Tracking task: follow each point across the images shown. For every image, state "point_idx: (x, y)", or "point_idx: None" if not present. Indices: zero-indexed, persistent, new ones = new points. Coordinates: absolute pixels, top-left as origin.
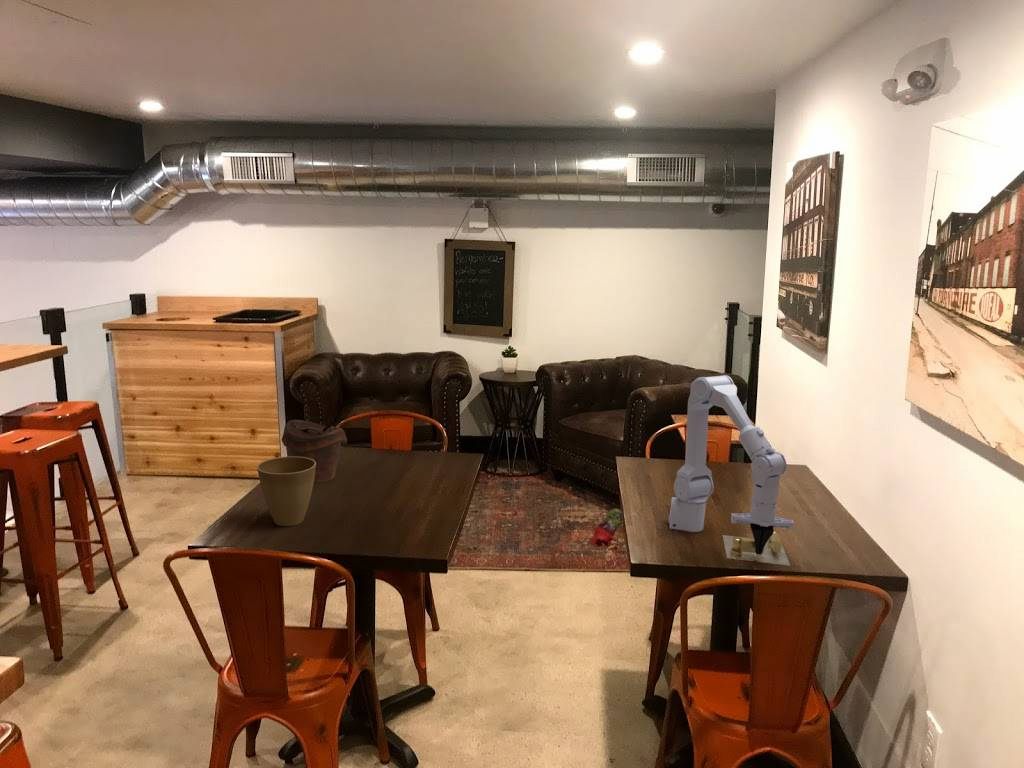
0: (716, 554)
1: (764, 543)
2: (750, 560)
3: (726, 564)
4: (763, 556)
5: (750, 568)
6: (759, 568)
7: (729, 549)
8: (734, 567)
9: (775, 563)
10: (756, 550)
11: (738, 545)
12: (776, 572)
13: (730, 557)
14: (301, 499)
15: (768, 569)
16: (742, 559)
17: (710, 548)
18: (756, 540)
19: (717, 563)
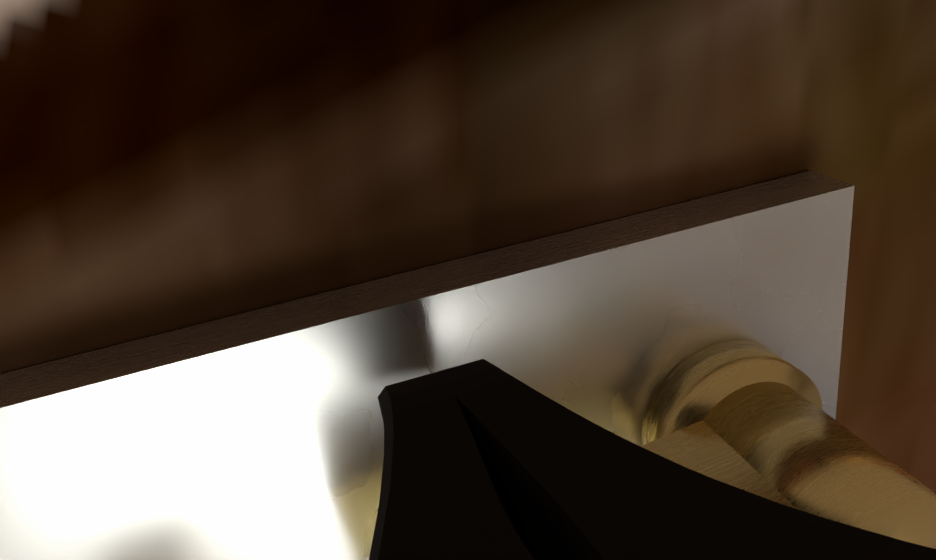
0: (893, 331)
1: (414, 550)
2: (522, 277)
3: (821, 67)
4: (331, 541)
5: (487, 94)
6: (344, 171)
7: None
8: (724, 6)
9: (84, 393)
10: (520, 383)
11: (815, 453)
12: (17, 148)
13: (805, 226)
14: None
15: (189, 209)
16: (642, 247)
17: (926, 452)
18: (701, 501)
19: (931, 39)
